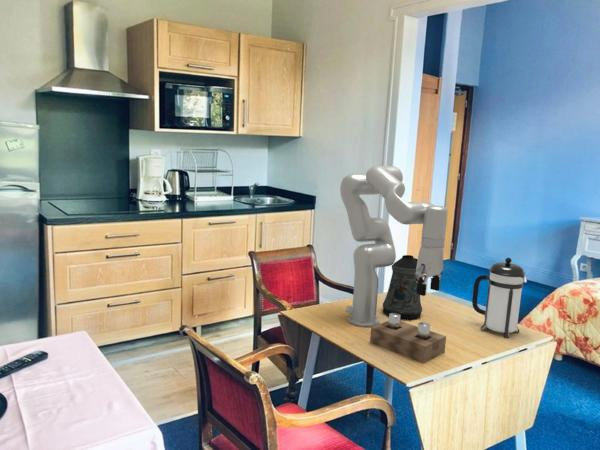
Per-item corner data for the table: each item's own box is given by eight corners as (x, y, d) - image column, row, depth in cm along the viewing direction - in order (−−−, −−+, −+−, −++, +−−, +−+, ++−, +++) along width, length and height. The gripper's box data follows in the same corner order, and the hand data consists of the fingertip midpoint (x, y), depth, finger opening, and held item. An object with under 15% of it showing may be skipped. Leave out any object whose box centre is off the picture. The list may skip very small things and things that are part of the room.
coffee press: (512, 325, 210) (521, 254, 205) (525, 340, 194) (535, 263, 189) (469, 321, 212) (477, 251, 207) (478, 336, 196) (487, 260, 191)
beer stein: (379, 317, 212) (384, 258, 208) (385, 303, 230) (390, 249, 226) (420, 323, 208) (425, 263, 203) (423, 308, 226) (428, 253, 222)
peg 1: (385, 329, 185) (387, 314, 184) (392, 326, 188) (393, 312, 187) (395, 332, 182) (396, 317, 181) (401, 329, 185) (402, 315, 184)
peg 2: (414, 339, 177) (416, 324, 176) (420, 336, 180) (422, 321, 179) (424, 342, 174) (426, 327, 173) (430, 339, 177) (432, 324, 176)
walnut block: (369, 343, 184) (371, 327, 183) (391, 333, 194) (393, 318, 193) (423, 363, 169) (425, 346, 168) (444, 352, 179) (446, 336, 178)
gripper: (435, 237, 180) (430, 285, 183) (409, 243, 167) (404, 294, 170) (455, 241, 175) (450, 290, 178) (429, 247, 162) (424, 300, 165)
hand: (427, 292), depth 174 cm, fingers open, 8 cm apart
